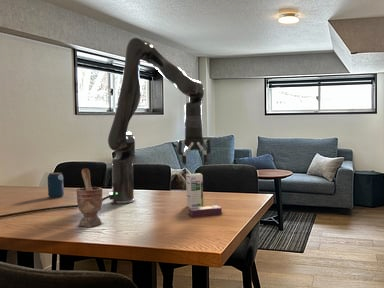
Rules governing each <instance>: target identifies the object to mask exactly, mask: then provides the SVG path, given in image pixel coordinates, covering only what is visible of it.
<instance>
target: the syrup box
mask: <svg viewBox="0 0 384 288" xmlns="http://www.w3.org/2000/svg"><path fill="white" fill-rule="evenodd" d="M203 178H204V177H203V174H202V173H201V172H197V173H196V172H195V173H186V174H185V181H186V182H185V184H186V187H185V188H186V206H187V207H188V209H189V208H197V207H204V179H203Z"/></svg>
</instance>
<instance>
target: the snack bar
mask: <svg viewBox="0 0 384 288" xmlns="http://www.w3.org/2000/svg"><path fill="white" fill-rule="evenodd" d="M188 212H189V213H188V215H189V216H191V217H192V218H197V217H205V216H214V215H215V216H216V215H222V207H221V206H219V205H207V206H203V207H197V208H189V207H188Z"/></svg>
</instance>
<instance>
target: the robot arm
mask: <svg viewBox="0 0 384 288" xmlns="http://www.w3.org/2000/svg"><path fill="white" fill-rule="evenodd" d="M141 62H145V63H146V64H149V65H151V66H153V67H154V68H155V69H156V70H158V72H159V73H160V74H161V75H162V76H163V77H164V78H165V79H166V80H168V82H170V83H171V84H172V85H174V86H175V87H176V88H177V89H178V90H179V91H180V92H181V93H182V94H183V95H185V96H186V97H187V96H188V97H189V98H188V102H186V103H185V105H184V140H177V146H176V147H177V148H176V154H177V155H179V156H181V164H183V165H185V166H186V165H187V154H188V152H189V151H194V150H195V151H198V150H199V151H200V153H201V154H202V155H201V162H202V164H206V163H207V161H208V159H207V155H208V154H211V152H212V150H211V140H210V139H203V135H204V134H203V126H204V125H203V124H204V123H203V117H202V114H203V113H202V105H203V101H204V96H205V95H204V94H205V90H204V89H205V87H204V85H203V83H202V82H201V81H199V80H196V79H192V78H190V77H189V76H187V73H186V72H185V71H184V70H182V69H181V68H180V67H178V66H177V65H175V64H174V63H172V62H171V61H170V60H168V59H167V58H166V57H165V56H163V55H162V54H161V53H160V52H159V51H158V50H157V49H156V47H154V46H153V45H152V44H151V42H149V41H147V40H145V39H143V38H140V37H132V38H131V39H129V41H128V42H127V45H126V49H125V59H124V66H123V67H124V68H123V73H122V79H121V84H120V88H119V93H118V98H117V103H116V108H115V113H114V117H113V121H112V123H111V127H110V130H109V133H108V137H107V144H108V147H109V148H110V149H111V151H115V152H116V154H115V156H114V157H113V158H112V159H111V178H112V181H111V192H109V193H108V195H107V196H105V197H102V203H103V202H104V201H105V200H107V199H109V200H110V201H112V203H113V204H116V205H117V204H118V205H119V204H120V205H121V204H130V203H133V202H134V201H135V192H134V191H135V190H134V189H135V188H134V187H135V186H134V160H135V156H136V154H135V153H136V152H135V151H136V140H135V136H134V134H133V133H132V132H131V131H129V130H128V127H129V124H130V121H131V120H132V117H133V115H134V114H135V113H136V111H137V109H138V108H139V105H140V101H141V97H142V83H141V79H140V67H141V66H140V65H141ZM184 145H185V147H184V148H183V150H182V147H183V146H184ZM203 145H205V148H204V147H203ZM70 208H78V204H71V205H61V206H51V207H45V208H36V209H30V210H25V211H17V212H12V213H5V214H0V219H1V218H6V217H12V216H13V217H14V216H18V215H24V214H25V215H26V214H29V213H30V214H31V213H37V212H44V211H52V210H59V209H70Z"/></svg>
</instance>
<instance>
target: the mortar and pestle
mask: <svg viewBox="0 0 384 288" xmlns="http://www.w3.org/2000/svg"><path fill="white" fill-rule="evenodd" d="M81 177H82V180H83V183H84V187H80V188H77V189H76V203H77V205H78V207H77V208H78V210H79V212H80V213H81V214H82V215H83V217H82V218H81V219H80V220H79V224H78V226H80V227H84V228H85V227H86V228H91V227H95V226H99V225H101V224H102V220H101V218H100V217H99V216H98V212H100V210H101V209H102V206H103V202H102V199H103V187H99V186H92V183H91V172H90V169H89V168H88V167H84V168H82V169H81Z"/></svg>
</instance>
